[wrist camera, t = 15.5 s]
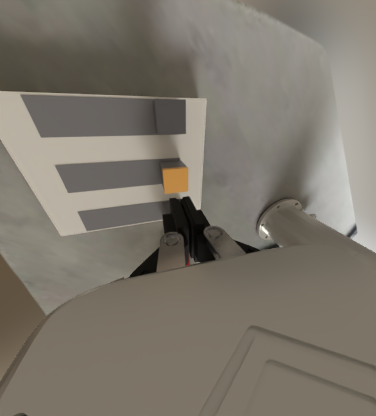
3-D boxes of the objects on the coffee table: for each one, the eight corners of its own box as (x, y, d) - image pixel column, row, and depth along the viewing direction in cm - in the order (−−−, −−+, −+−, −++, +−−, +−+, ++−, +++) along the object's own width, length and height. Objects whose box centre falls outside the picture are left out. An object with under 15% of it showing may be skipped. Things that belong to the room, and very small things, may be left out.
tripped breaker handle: (181, 160, 20) (188, 168, 17) (181, 180, 21) (188, 191, 18) (159, 161, 19) (162, 169, 16) (161, 182, 21) (164, 194, 18)
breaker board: (198, 101, 20) (219, 94, 14) (195, 206, 29) (207, 225, 23) (-2, 95, 15) (-82, 81, 10) (69, 224, 24) (48, 253, 18)
